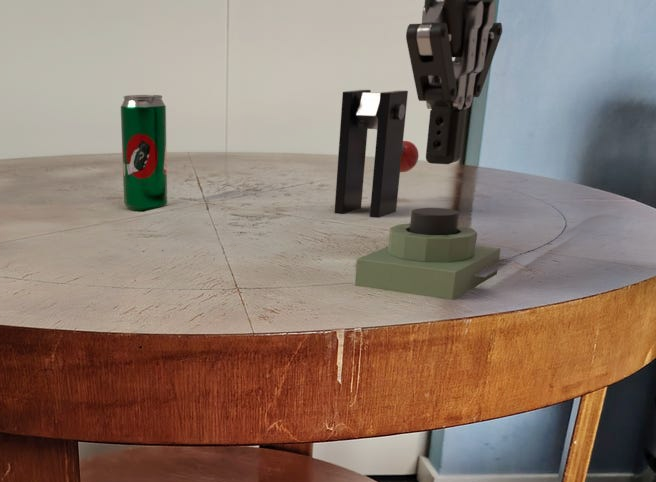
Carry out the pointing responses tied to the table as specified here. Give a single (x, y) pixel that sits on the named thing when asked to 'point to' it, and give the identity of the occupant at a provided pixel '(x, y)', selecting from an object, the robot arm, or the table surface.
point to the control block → (427, 263)
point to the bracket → (385, 154)
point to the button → (434, 221)
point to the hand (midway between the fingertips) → (442, 162)
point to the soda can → (144, 152)
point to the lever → (369, 120)
